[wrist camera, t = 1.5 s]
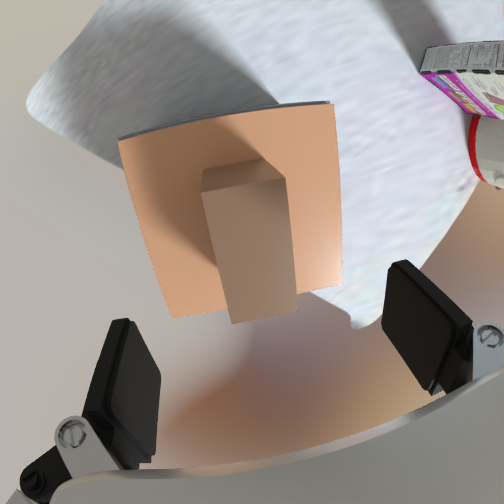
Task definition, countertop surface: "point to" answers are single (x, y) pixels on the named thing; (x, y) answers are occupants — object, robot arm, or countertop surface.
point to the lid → (240, 209)
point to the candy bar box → (469, 75)
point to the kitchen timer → (487, 149)
